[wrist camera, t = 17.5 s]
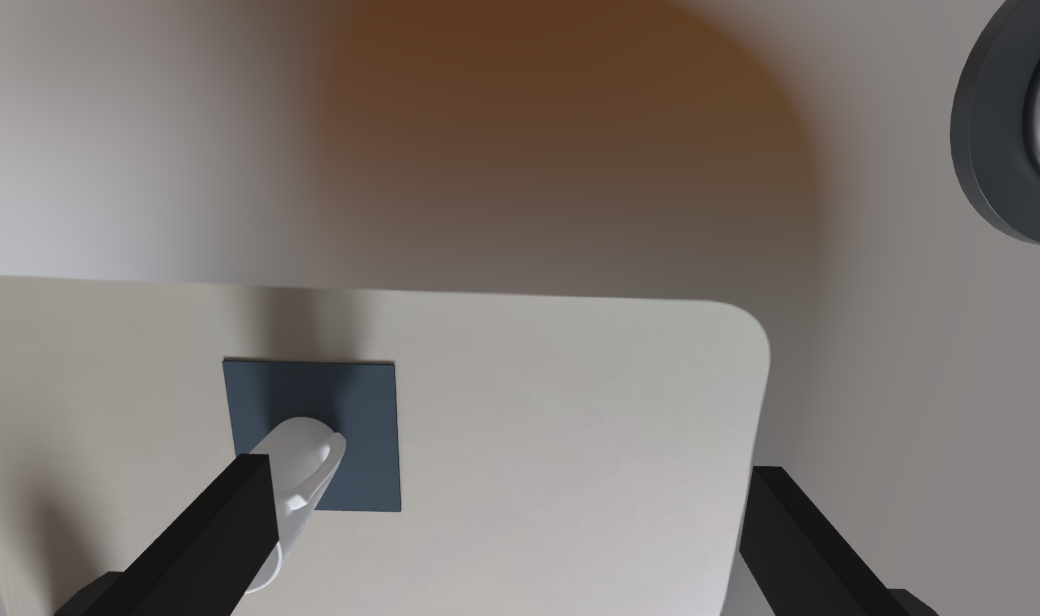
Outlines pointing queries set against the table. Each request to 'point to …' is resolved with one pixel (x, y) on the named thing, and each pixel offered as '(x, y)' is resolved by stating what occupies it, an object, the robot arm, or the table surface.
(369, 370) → the mat
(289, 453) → the mug
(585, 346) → the table surface
